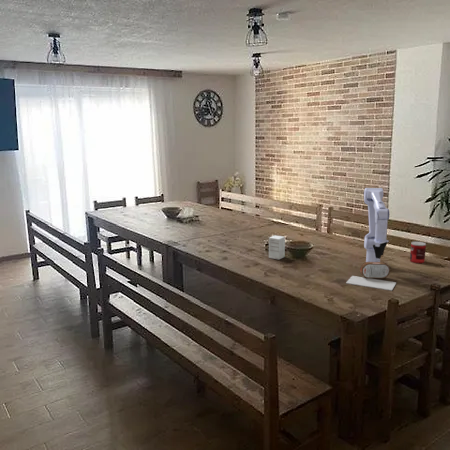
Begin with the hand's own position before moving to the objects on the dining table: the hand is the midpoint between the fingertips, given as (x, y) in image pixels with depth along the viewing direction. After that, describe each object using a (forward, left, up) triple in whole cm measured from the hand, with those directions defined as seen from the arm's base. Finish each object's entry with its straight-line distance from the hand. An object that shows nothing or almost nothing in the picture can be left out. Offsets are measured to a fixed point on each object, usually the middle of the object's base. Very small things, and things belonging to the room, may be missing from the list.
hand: (379, 256), depth 238 cm
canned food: (-33, +15, -10) cm, 37 cm away
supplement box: (-3, -60, -10) cm, 61 cm away
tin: (+9, 0, -9) cm, 13 cm away
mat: (+17, 0, -9) cm, 19 cm away
